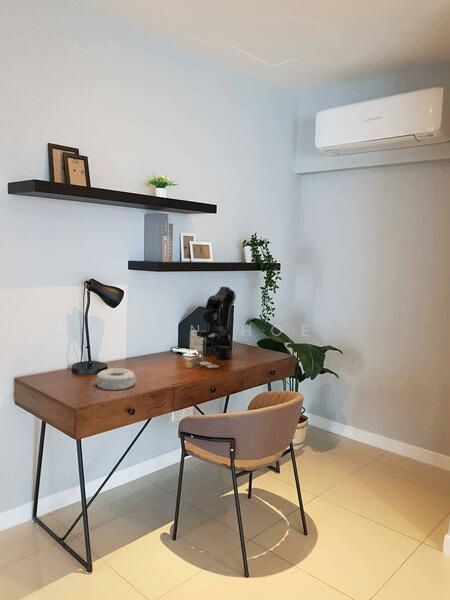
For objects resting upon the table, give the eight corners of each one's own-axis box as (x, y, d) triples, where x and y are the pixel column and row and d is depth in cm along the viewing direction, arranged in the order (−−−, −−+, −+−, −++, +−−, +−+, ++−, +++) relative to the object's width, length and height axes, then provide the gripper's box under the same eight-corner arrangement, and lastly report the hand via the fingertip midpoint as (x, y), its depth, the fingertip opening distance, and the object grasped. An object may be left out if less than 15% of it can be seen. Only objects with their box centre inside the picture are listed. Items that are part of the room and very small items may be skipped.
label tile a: (207, 362, 270) (207, 361, 270) (211, 364, 267) (211, 363, 267) (198, 363, 267) (198, 362, 267) (202, 365, 264) (202, 364, 264)
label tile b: (214, 365, 265) (214, 364, 265) (218, 366, 262) (219, 366, 262) (205, 366, 261) (205, 365, 261) (209, 368, 258) (209, 367, 258)
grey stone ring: (121, 377, 233) (121, 365, 232) (143, 386, 221) (143, 373, 220) (89, 384, 220) (89, 371, 219) (110, 393, 208) (110, 380, 208)
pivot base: (201, 360, 275) (201, 359, 275) (207, 362, 270) (207, 361, 270) (192, 361, 272) (192, 360, 272) (198, 363, 267) (198, 363, 267)
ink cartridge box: (205, 354, 290) (206, 330, 288) (201, 355, 286) (202, 331, 284) (193, 352, 294) (194, 328, 292) (189, 353, 290) (189, 329, 288)
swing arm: (198, 360, 273) (198, 354, 273) (204, 360, 272) (204, 354, 272) (185, 367, 256) (185, 360, 256) (191, 368, 255) (191, 361, 254)
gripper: (208, 323, 247) (207, 353, 248) (237, 321, 258) (235, 350, 259) (196, 320, 255) (195, 349, 257) (224, 318, 267) (223, 346, 268)
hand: (213, 348), depth 260 cm, fingers closed
